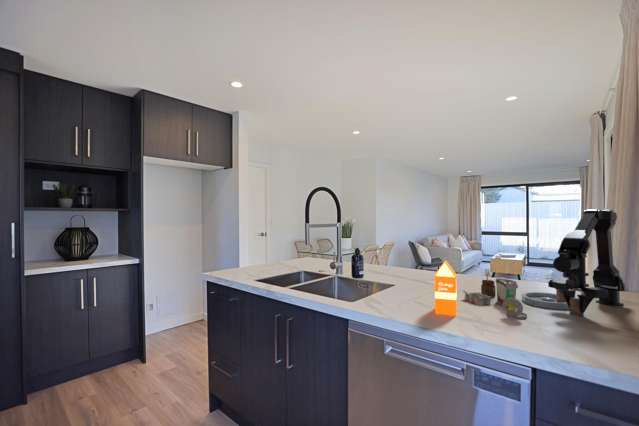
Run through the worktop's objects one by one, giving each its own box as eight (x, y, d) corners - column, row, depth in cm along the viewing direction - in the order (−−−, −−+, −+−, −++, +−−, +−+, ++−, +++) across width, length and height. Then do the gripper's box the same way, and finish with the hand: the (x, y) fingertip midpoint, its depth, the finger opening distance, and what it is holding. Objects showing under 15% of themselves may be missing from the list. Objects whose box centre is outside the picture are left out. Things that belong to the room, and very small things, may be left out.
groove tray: (547, 296, 144) (547, 291, 144) (587, 307, 125) (587, 301, 125) (512, 298, 140) (512, 293, 140) (548, 310, 122) (548, 304, 122)
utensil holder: (482, 296, 144) (481, 270, 144) (480, 293, 150) (479, 268, 150) (496, 297, 142) (496, 271, 142) (494, 294, 148) (493, 269, 148)
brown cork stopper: (566, 301, 132) (566, 287, 132) (570, 304, 129) (569, 289, 129) (555, 300, 134) (554, 287, 134) (558, 303, 130) (558, 289, 130)
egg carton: (462, 299, 141) (462, 290, 141) (477, 298, 142) (477, 289, 142) (477, 306, 130) (477, 296, 131) (493, 305, 132) (493, 295, 132)
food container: (523, 309, 124) (523, 284, 124) (506, 308, 125) (506, 284, 125) (511, 301, 136) (510, 278, 136) (496, 300, 137) (495, 278, 138)
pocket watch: (524, 314, 118) (523, 288, 118) (531, 321, 110) (530, 293, 110) (499, 312, 121) (499, 286, 121) (505, 319, 113) (504, 291, 113)
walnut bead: (575, 312, 120) (575, 296, 120) (586, 315, 116) (586, 299, 116) (567, 312, 119) (566, 297, 119) (577, 316, 115) (577, 300, 115)
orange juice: (457, 309, 125) (456, 260, 125) (456, 316, 117) (455, 263, 117) (436, 307, 128) (435, 259, 128) (434, 313, 120) (433, 262, 120)
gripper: (536, 266, 126) (537, 305, 125) (582, 275, 107) (583, 320, 107) (559, 265, 128) (560, 303, 127) (609, 273, 109) (610, 318, 109)
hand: (576, 310), depth 118 cm, fingers closed on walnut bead, 4 cm apart
